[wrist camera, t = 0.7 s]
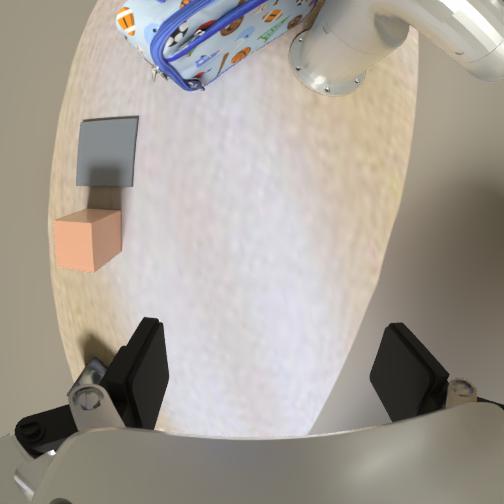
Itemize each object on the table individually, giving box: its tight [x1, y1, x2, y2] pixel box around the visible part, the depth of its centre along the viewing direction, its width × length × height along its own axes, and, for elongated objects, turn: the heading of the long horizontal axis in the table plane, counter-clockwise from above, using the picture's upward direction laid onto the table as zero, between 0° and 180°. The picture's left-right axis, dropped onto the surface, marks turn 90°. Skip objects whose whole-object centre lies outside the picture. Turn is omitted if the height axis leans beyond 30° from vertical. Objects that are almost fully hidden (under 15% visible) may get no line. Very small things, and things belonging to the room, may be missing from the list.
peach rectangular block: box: [53, 209, 122, 273], centre depth 38 cm, size 7×7×10 cm
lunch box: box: [116, 0, 317, 91], centre depth 24 cm, size 28×10×22 cm, turn 133°
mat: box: [76, 118, 138, 187], centre depth 39 cm, size 11×11×1 cm
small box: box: [67, 357, 108, 397], centre depth 48 cm, size 11×6×10 cm, turn 42°
